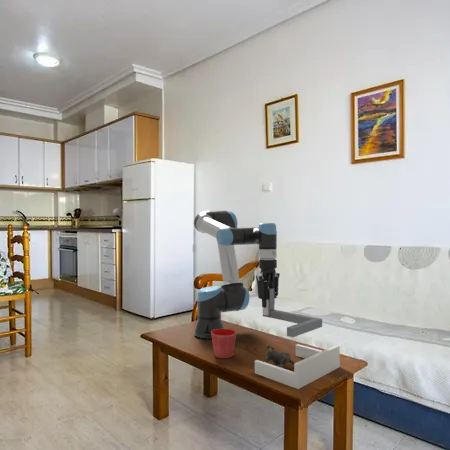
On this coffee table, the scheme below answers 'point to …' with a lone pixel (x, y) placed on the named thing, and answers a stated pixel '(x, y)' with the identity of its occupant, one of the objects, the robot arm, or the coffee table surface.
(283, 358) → the dog figurine
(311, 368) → the low cubby
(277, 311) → the crook
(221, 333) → the flower pot
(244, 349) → the coffee table surface
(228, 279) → the robot arm
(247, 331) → the coffee table surface
